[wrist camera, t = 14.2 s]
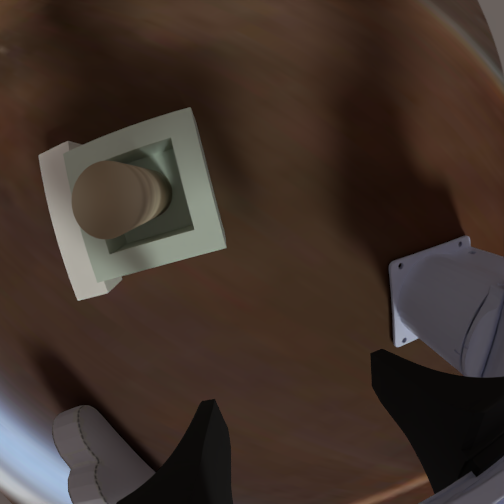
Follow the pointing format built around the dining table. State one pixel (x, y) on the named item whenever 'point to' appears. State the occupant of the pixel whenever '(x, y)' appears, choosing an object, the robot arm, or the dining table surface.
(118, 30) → the dining table surface
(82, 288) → the backstop wall
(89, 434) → the decorative item
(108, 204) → the dowel
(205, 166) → the socket block
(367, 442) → the dining table surface
